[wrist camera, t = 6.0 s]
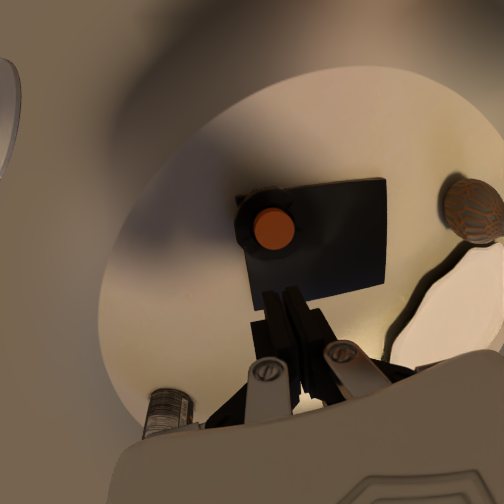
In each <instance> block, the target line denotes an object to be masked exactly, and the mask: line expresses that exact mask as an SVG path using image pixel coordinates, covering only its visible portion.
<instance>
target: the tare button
mask: <svg viewBox="0 0 504 504" xmlns="http://www.w3.org/2000/svg"><path fill="white" fill-rule="evenodd" d="M253 230H254V233H255V236H256V239H257V241H258V242H259V243H260V244H261V245H262V246H263V247H265V248H267V249H272V250H276V249H280V248H283V247H285V246H286V245H287V244H289V242H290V241H291V240H292V238H293V235H294V224H293V221H292V220H291V218H290V217H289V216H288V215H287V214H286V213H285V212H284V211H283V210H281V209H279V208H275V207H270V208H266V209H264V210H262V211H260V212H259V213H258V214H257V216H256V217H255V219H254V223H253Z"/></svg>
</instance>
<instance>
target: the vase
mask: <svg viewBox="0 0 504 504" xmlns="http://www.w3.org/2000/svg"><path fill="white" fill-rule="evenodd" d="M444 212H445V217H446V220H447V222H448V224H449V226H450V227H451V229H452V230H453V231H454V232H455V233H456V234H457V235H458V236H459V237H461V238H462V239H464V240H466V241H468V242H471V243H476V244H484V243H488V242H491V241H493V240H495V239H497V238H499V237H503V236H504V202H503V200H502V198H501V197H500V195H499V194H498V192H497V191H496V190H495V189H494V188H493V187H492V186H490V185H489V184H487V183H485V182H483V181H481V180H477V179H463V180H460V181H458V182H456V183H455V184H453V185H452V186H451V188H450V189H449V190H448V192H447V194H446V197H445V201H444Z"/></svg>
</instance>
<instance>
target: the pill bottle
mask: <svg viewBox="0 0 504 504" xmlns="http://www.w3.org/2000/svg"><path fill="white" fill-rule="evenodd" d="M192 423H193V402H192V401H191V399H190V398H189V397H188V396H186V395H185V394H183V393H180V392H178V391H174V390H159V391H156V392H155V393H153V394H152V396H151V398H150V402H149V406H148V411H147V416H146V421H145V426H144V431H143V436H142V440H143V439H144V438H145V437H146V436H147V435H148V434H151V433H153V432H157V431H162V430H167V429H171V428H176V427H180V426H184V425H188V424H192Z"/></svg>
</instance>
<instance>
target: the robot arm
mask: <svg viewBox="0 0 504 504" xmlns="http://www.w3.org/2000/svg"><path fill="white" fill-rule="evenodd" d="M261 295H262V301H263V307H264V313H265V320H260V321H255V322H250V324H251V330H252V336H253V342H254V347H255V353H256V359H257V360H256V361H255V362H254V363H252V365H251V366H250V368H249V371H248V382H247V383H246V384H245V385H244V386H243V387H242V388H241V389H240V390H239V391H238V392H237V393H236V394H235V395H233V396H232V397H231V398H230V399H229V400H228V401H227V402H226V403H225V404H224V405H223V406H222V407H220V408H219V409H218V410H217V411H216V412H215V413H214V414H213V415H212V416H210V418H209V419H208V420H207V421H206V422H205V423H202V424H199V423H198V422H196V423H192V424H188V425H184V426H180V427H176V428H171V429H167V430H162V431H157V432H153V433H151V434H148V435H147V436H146V437H145V438H144V439H143V440H142V441H140V442H137V443H135V444H133V445H131V446H130V447H128V448H127V449H126V450H124V452H123V453H122V454H121V455H120V457H119V459H118V461H117V463H116V466H115V468H114V471H113V474H112V478H111V482H110V486H109V492H108V497H107V503H106V504H504V356H502V355H501V354H499V353H498V352H496V351H494V350H490V349H480V350H474V351H469V352H466V353H462V354H460V355H457V356H454V357H452V358H449V359H446V360H442V361H438V362H434V363H430V364H426V365H422V366H417V367H415V370H412V369H410V368H407V367H404V366H400V365H396V364H391V363H387V362H383V361H379V360H376V359H372V358H369V357H368V356H367V355H366V354H365V353H364V351H363V350H362V349H361V348H360V347H359V346H358V345H357V344H356V343H354V342H352V341H349V340H337V338H336V336H335V334H334V333H333V331H332V329H331V327H330V326H329V324H328V322H327V320H326V319H325V317H324V315H323V313H322V312H321V310H320V309H319V308H316V309H312V310H310V309H309V307H308V305H307V303H306V302H305V300H304V298H303V296H302V294H301V292H300V290H299V288H298V286H297V285H294V286H290V287H285V291H281V296H282V302H281V299H280V296H279V294H278V292H275V293H274V292H273V290H270V291H265V292H261ZM300 381H301V383H300ZM301 384H302V387H303V390H304V393H309V394H310V397H311V399H313V398H317V399H319V400H322V404H323V406H324V407H323V408H319V409H316V410H312V411H308V412H304V413H300V414H295V415H293V411H292V410H293V409H294V408H295V407H296V405H297V404H298V403H299V402H300V400H299V395H300V394H301Z"/></svg>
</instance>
